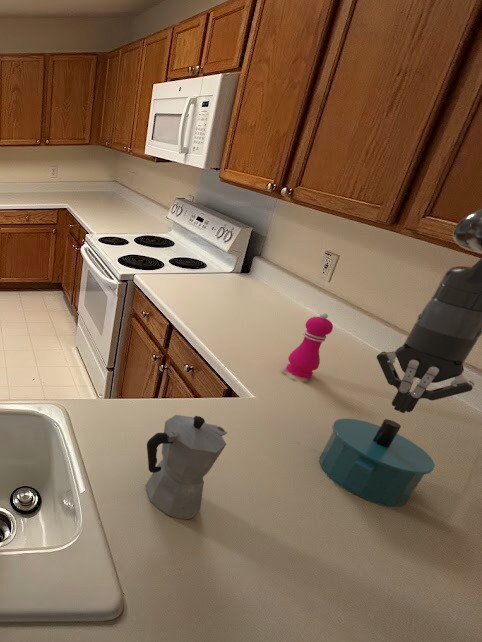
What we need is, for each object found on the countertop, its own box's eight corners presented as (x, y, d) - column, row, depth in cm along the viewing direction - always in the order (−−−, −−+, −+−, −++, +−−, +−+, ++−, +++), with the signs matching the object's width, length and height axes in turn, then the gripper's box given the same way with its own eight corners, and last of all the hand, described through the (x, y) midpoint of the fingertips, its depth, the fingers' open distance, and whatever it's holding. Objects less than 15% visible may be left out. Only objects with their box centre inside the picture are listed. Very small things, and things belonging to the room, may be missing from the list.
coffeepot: (183, 473, 80) (210, 397, 74) (221, 514, 72) (255, 432, 65) (114, 484, 76) (137, 405, 70) (146, 529, 68) (174, 444, 61)
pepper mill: (318, 378, 120) (347, 317, 113) (302, 382, 118) (331, 319, 110) (293, 366, 127) (318, 306, 119) (277, 369, 124) (303, 308, 116)
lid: (438, 458, 79) (455, 433, 77) (421, 489, 71) (439, 462, 69) (344, 415, 90) (356, 392, 88) (320, 437, 82) (332, 413, 80)
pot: (417, 482, 84) (438, 450, 80) (392, 525, 73) (415, 489, 70) (335, 441, 94) (351, 411, 90) (304, 473, 83) (320, 440, 80)
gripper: (508, 339, 68) (453, 424, 74) (401, 309, 78) (361, 386, 84) (503, 349, 64) (445, 438, 70) (391, 316, 73) (349, 397, 80)
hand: (399, 410), depth 77 cm, fingers closed
